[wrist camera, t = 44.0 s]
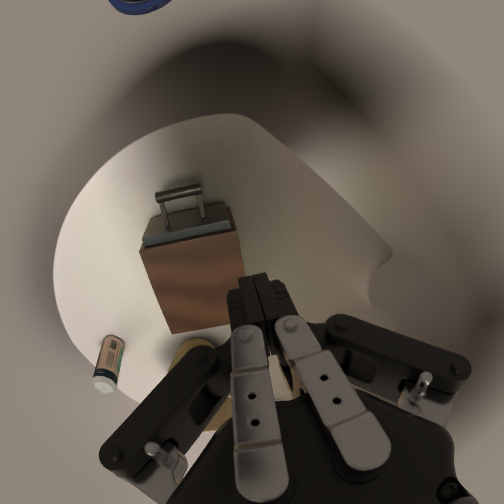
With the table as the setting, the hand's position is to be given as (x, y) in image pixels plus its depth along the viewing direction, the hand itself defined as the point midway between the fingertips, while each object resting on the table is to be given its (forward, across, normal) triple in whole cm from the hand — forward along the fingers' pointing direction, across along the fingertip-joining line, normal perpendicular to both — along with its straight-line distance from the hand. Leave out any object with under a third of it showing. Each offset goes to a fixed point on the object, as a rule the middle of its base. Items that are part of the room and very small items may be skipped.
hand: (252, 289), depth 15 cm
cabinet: (+29, +6, +13) cm, 32 cm away
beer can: (+29, +28, +28) cm, 49 cm away
